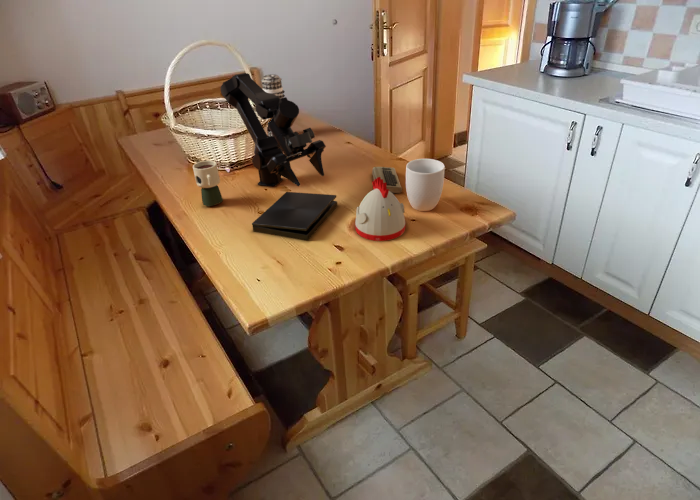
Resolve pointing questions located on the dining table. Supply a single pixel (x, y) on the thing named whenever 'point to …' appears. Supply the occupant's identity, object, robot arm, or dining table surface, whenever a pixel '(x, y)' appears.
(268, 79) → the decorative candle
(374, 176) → the computer
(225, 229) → the dining table surface
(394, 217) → the kitchen timer
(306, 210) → the laptop screen
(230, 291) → the dining table surface
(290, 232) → the laptop
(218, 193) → the character mug
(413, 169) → the mug
